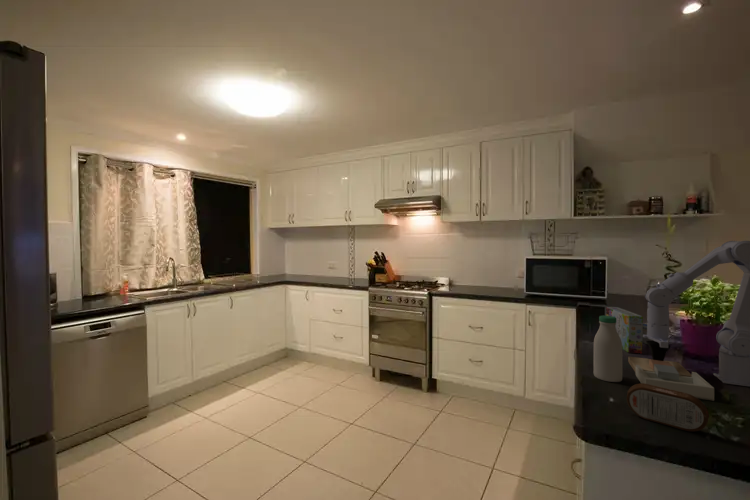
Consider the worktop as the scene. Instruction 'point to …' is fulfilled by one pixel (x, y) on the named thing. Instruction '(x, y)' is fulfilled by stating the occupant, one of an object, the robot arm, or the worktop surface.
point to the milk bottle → (608, 351)
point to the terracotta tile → (652, 362)
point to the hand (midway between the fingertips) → (657, 363)
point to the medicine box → (645, 334)
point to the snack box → (628, 328)
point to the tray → (678, 383)
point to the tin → (668, 407)
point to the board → (646, 367)
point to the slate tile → (666, 371)
